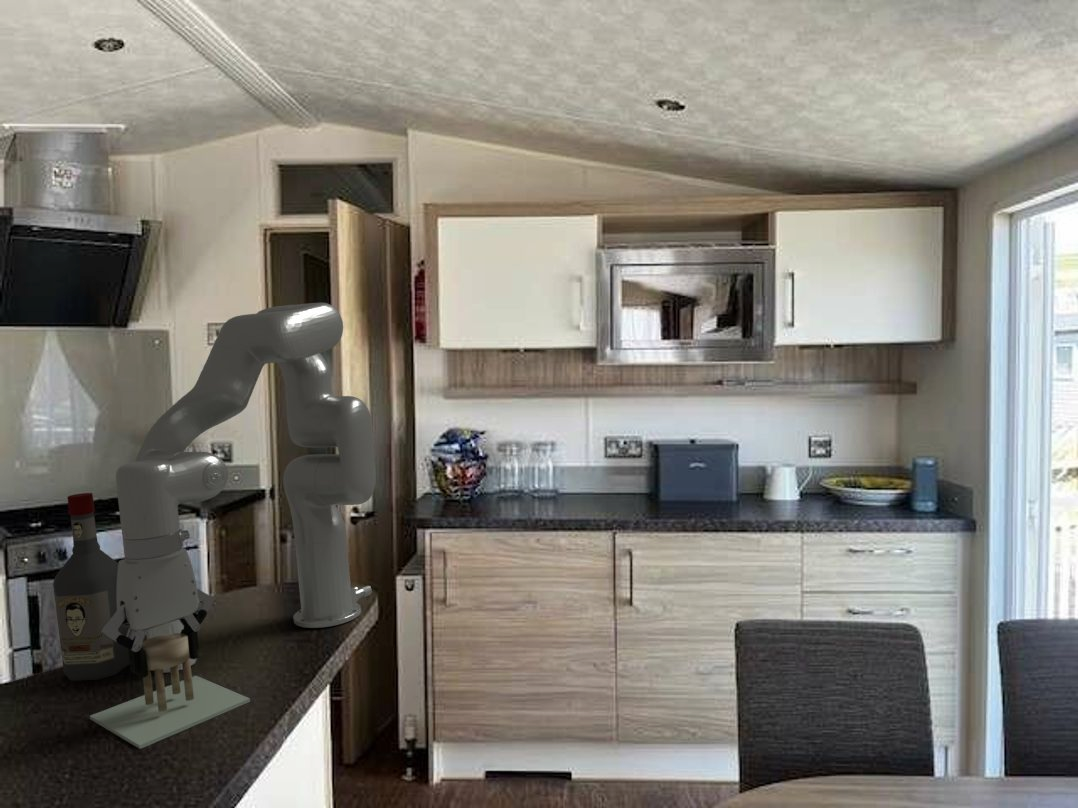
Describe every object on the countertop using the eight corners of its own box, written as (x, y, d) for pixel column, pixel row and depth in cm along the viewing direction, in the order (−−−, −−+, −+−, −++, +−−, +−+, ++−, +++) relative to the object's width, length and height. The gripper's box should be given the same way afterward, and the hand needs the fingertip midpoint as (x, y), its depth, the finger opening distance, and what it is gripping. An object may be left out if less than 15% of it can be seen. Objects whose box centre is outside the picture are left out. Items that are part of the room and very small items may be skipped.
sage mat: (196, 678, 128) (195, 675, 128) (250, 701, 118) (249, 698, 118) (90, 719, 115) (89, 715, 115) (140, 749, 105) (139, 745, 105)
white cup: (180, 675, 130) (174, 615, 129) (138, 674, 131) (132, 615, 130) (210, 656, 137) (204, 599, 136) (169, 655, 139) (163, 599, 138)
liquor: (91, 660, 139) (71, 491, 137) (141, 657, 139) (122, 488, 136) (56, 682, 130) (34, 502, 128) (110, 680, 130) (89, 499, 127)
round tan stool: (180, 687, 121) (174, 630, 120) (201, 697, 117) (195, 638, 116) (137, 704, 116) (131, 644, 115) (158, 715, 112) (151, 653, 111)
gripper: (197, 529, 124) (209, 641, 125) (77, 558, 110) (92, 682, 112) (222, 534, 119) (234, 650, 120) (100, 565, 106) (115, 694, 107)
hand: (166, 665), depth 116 cm, fingers open, 6 cm apart
